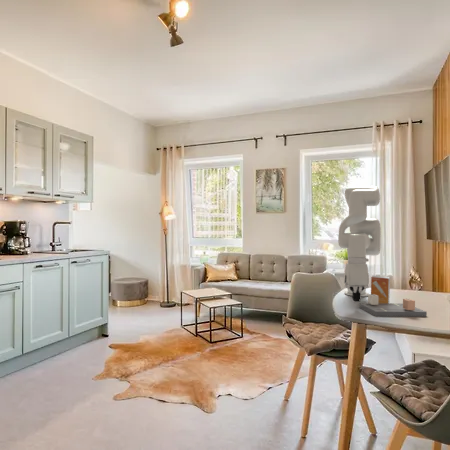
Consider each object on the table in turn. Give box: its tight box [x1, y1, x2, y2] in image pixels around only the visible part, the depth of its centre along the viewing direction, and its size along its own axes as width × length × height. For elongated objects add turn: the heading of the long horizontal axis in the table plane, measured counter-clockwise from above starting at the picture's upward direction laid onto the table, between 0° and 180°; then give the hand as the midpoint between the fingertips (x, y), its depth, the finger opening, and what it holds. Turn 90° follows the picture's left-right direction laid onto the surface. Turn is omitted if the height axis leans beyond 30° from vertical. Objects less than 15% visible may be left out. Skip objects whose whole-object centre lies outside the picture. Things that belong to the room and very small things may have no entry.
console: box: [358, 302, 428, 317], centre depth 157 cm, size 16×22×2 cm
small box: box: [370, 275, 391, 303], centre depth 176 cm, size 8×6×13 cm
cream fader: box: [367, 293, 378, 305], centre depth 162 cm, size 4×3×4 cm
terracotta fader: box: [402, 298, 416, 310], centre depth 152 cm, size 4×3×4 cm
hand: (356, 301), depth 161 cm, fingers closed
